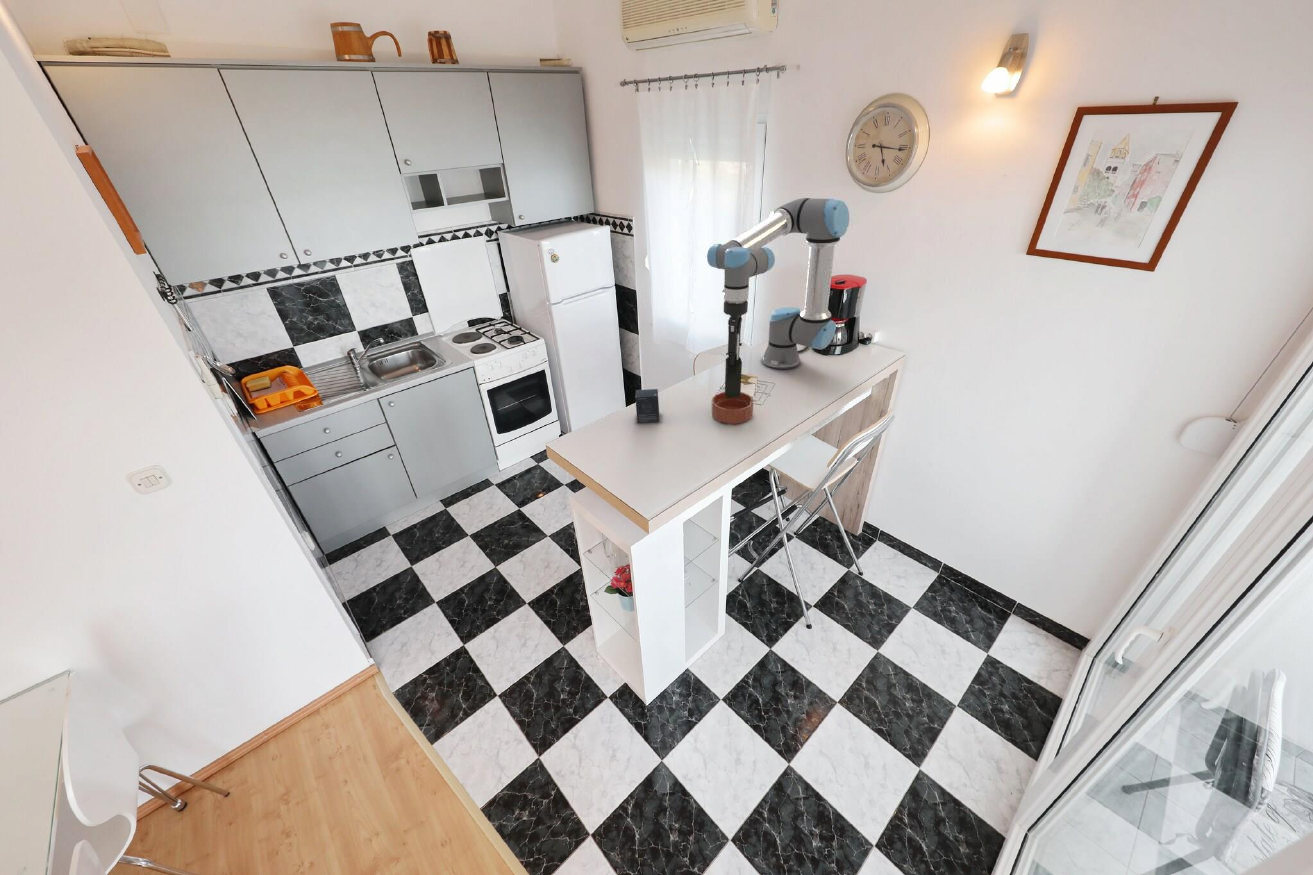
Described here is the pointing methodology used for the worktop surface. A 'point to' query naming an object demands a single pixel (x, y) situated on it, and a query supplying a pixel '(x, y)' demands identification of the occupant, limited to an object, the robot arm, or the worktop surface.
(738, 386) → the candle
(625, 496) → the worktop surface
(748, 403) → the bowl
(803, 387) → the worktop surface
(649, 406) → the box
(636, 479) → the worktop surface
